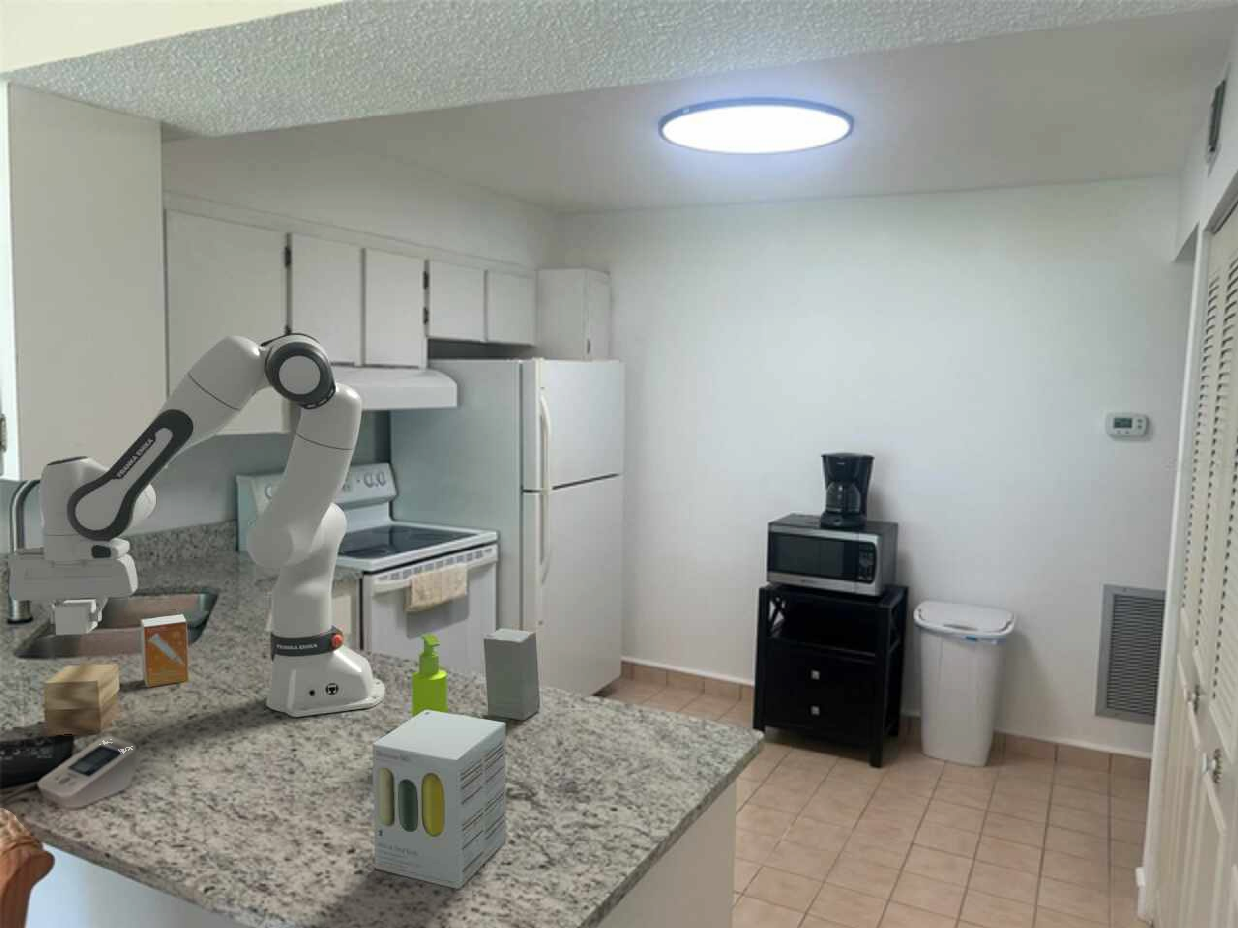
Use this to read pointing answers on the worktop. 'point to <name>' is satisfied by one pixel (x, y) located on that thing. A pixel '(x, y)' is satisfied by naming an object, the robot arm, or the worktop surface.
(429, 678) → the soap dispenser
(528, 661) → the skincare box
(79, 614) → the cube
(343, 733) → the worktop surface
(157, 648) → the small box
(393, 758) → the supplement box
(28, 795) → the worktop surface
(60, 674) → the tower top
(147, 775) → the worktop surface
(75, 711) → the block
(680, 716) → the worktop surface
